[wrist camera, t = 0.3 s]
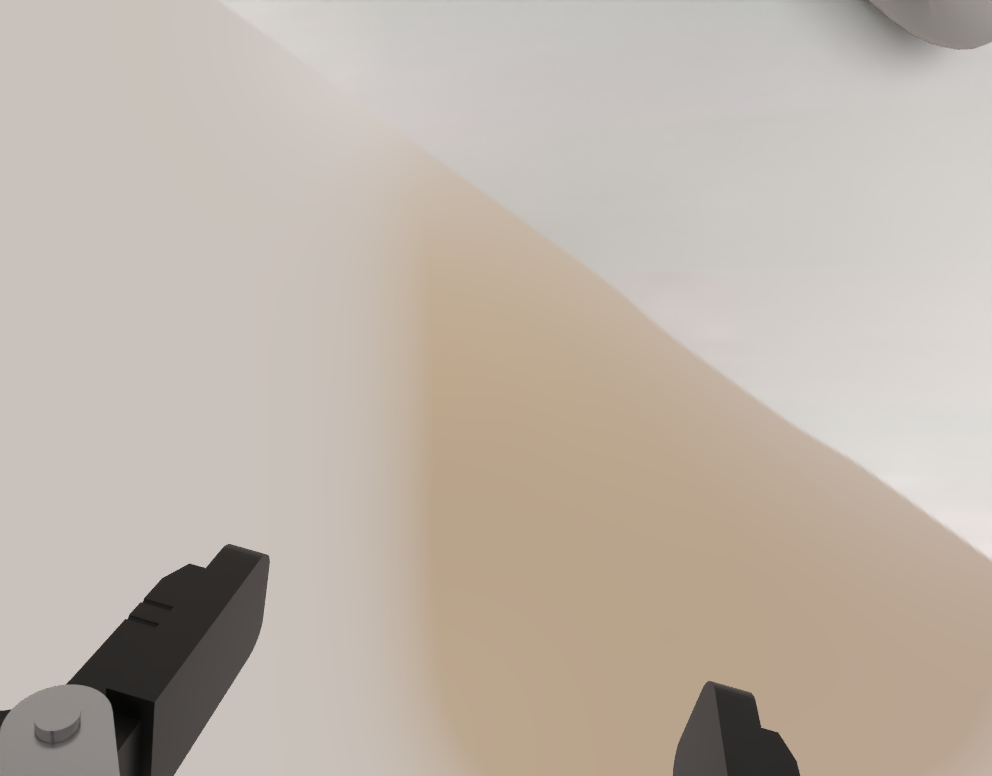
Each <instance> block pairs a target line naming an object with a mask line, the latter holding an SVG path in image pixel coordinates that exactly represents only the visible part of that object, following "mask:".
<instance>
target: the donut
mask: <svg viewBox="0 0 992 776" xmlns="http://www.w3.org/2000/svg"><path fill="white" fill-rule="evenodd" d="M869 1H870V2H871V3H872V4H874V5H875V6H876V7H877V8H878V9H879V10H880V11H882V12H883V13H884V14H885V15H886V16H887V17H889V18H890V19H891V20H892V21H894V22H895V23H897V24H898V25H899V26H901V27H902V28H904V29H905V30H907V31H908V32H909V33H911V34H913V35H915V36H917V37H919V38H921V39H923V40H925V41H927V42H929V43H931V44H935V45H938V46H941V47H947V48H952V49H957V50H960V49H974V48H976V47H979V46H982V45H985V44H988V43H990V42H992V0H869Z"/></svg>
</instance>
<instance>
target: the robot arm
mask: <svg viewBox="0 0 992 776" xmlns="http://www.w3.org/2000/svg"><path fill="white" fill-rule="evenodd" d="M269 563H270V561H269V556H268V555H266V554H263V553H259V552H256V551H252V550H249V549H245V548H242V547H238V546H234V545H231V544H228V545H226V546H224V547H223V548H222V550H221V551H220V552H219V553H218V554H217V555H216V557H215V558H214V559H213V560H212V561H211V563H210V564H209V565H208V566H207V567H206V568H203V567H199V566H196V565H192V564H188V565H186V566H184V567H182V568H180V569H179V570H177V571H175V572H173V573H171V574H169V575H168V576H166V577H164V578H162V579H161V580H160V581H159V583H158V584H157V585H156V586H155V587H154V588H153V589H152V590H151V591H150V593H149V594H148V595H147V596H146V597H145V598H144V601H143V603H140V604H139V605H138V606H137V607H136V608H135V609H134V610H133V611H132V612H131V614H130V615H129V618H128V619H127V620H126V619H125V620H124V621H123V622H122V624H121V625H120V626H119V627H118V628H117V629H116V630H115V631H114V632H113V634H112V635H111V636H110V637H109V638H108V639H107V640H106V641H105V642H104V643H103V645H102V646H101V647H100V648H99V649H98V650H97V651H96V652H95V654H94V655H93V656H92V657H91V658H90V659H89V660H88V661H87V662H86V663H85V665H84V666H83V667H82V668H81V669H80V670H79V671H78V672H77V673H76V674H75V676H74V677H73V678H72V679H71V680H70V681H69V682H68V683H67V684H66V685H60V686H54V687H50V688H46V689H44V690H41V691H38V692H36V693H34V694H32V695H30V696H28V697H27V698H25V699H24V700H22V701H21V702H20V703H18V704H17V705H16V706H15V707H14V708H13V709H12V710H5V711H0V776H174V774H175V773H176V771H177V769H178V768H179V766H180V765H181V763H182V761H183V760H184V758H185V757H186V755H187V754H188V752H189V750H190V749H191V747H192V745H193V744H194V743H195V741H196V739H197V738H198V736H199V735H200V733H201V731H202V730H203V728H204V727H205V725H206V724H207V722H208V721H209V719H210V717H211V716H212V714H213V713H214V711H215V710H216V708H217V706H218V705H219V703H220V702H221V700H222V699H223V697H224V695H225V694H226V692H227V691H228V689H229V688H230V686H231V684H232V682H233V681H234V679H235V678H236V676H237V675H238V673H239V672H240V670H241V669H242V667H243V665H244V664H245V662H246V661H247V659H248V658H249V656H250V654H251V652H252V650H253V648H254V646H255V644H256V641H257V639H258V636H259V633H260V629H261V626H262V621H263V614H264V605H265V597H266V589H267V580H268V572H269ZM673 776H800V773H799V769H798V766H797V761H796V760H795V758H794V757H793V755H792V754H791V752H790V750H789V749H788V747H787V746H786V744H785V743H784V741H783V739H782V738H781V736H780V735H779V733H778V732H774V731H771V730H767V729H764V728H761V725H760V720H759V715H758V711H757V706H756V702H755V698H754V696H753V695H752V693H750V692H747V691H743V690H740V689H736V688H733V687H729V686H725V685H722V684H718V683H715V682H711V681H708V682H707V683H706V684H705V685H704V687H703V689H702V691H701V693H700V696H699V698H698V700H697V702H696V705H695V707H694V709H693V711H692V714H691V716H690V718H689V721H688V723H687V725H686V727H685V730H684V732H683V734H682V737H681V739H680V741H679V744H678V747H677V751H676V755H675V761H674V769H673Z"/></svg>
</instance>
